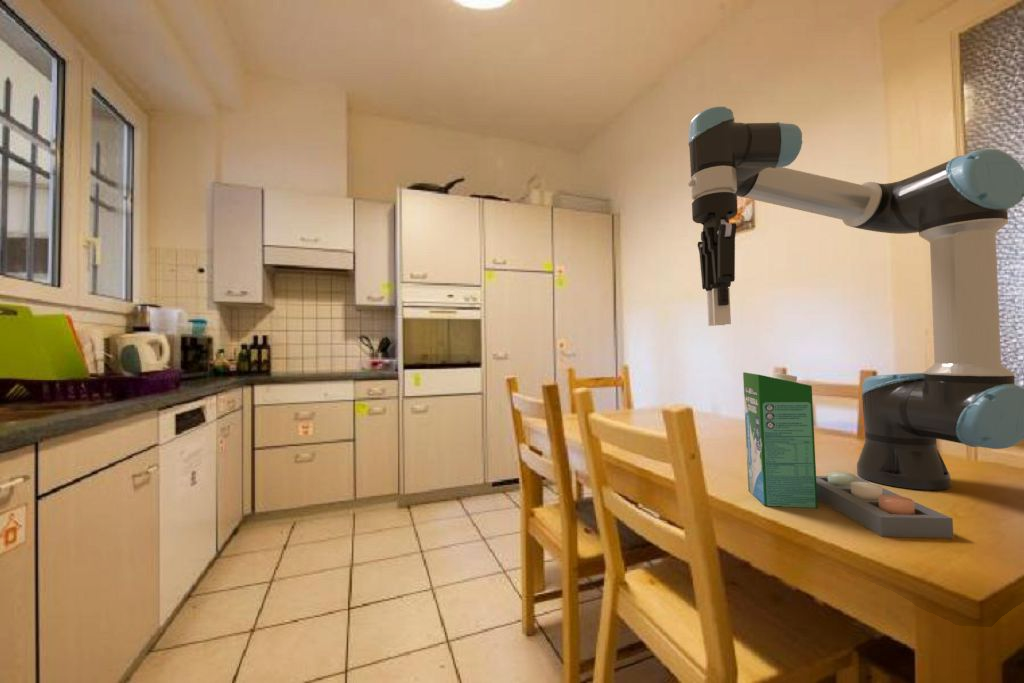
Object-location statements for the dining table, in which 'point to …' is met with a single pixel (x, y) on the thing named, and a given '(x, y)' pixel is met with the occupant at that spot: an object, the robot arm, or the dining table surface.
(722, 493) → the dining table surface
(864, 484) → the ivory button
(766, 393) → the milk carton
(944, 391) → the robot arm
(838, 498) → the grey button tray
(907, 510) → the terracotta button
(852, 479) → the sage button
